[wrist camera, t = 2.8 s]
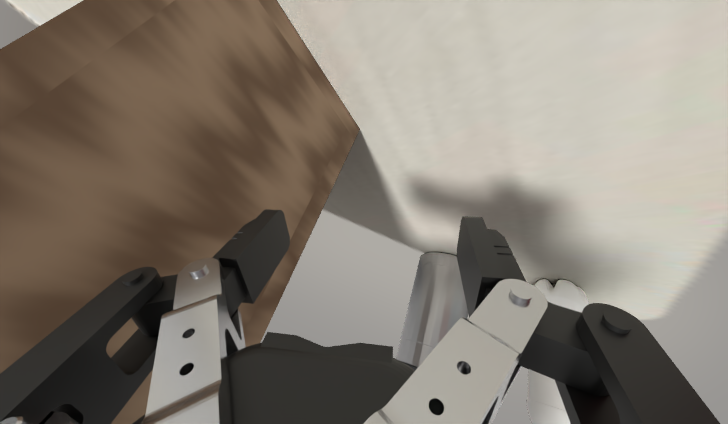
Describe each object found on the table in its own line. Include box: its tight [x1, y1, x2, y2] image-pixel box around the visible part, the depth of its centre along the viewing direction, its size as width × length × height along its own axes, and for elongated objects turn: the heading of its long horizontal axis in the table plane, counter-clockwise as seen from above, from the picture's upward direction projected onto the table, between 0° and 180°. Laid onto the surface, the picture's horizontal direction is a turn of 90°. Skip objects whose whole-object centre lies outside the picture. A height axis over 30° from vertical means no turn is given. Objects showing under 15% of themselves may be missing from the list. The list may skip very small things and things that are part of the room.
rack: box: [0, 0, 360, 424], centre depth 19 cm, size 16×18×32 cm
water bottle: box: [527, 279, 589, 424], centre depth 35 cm, size 7×7×25 cm
